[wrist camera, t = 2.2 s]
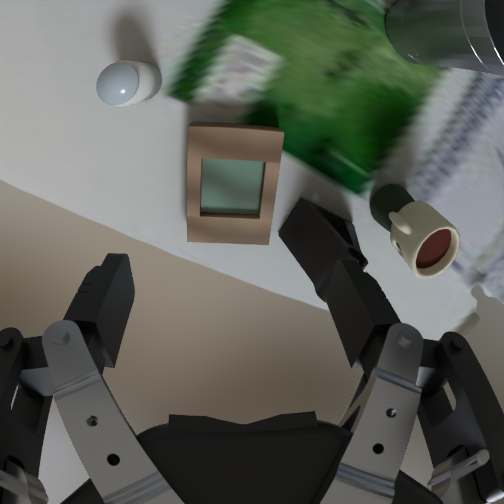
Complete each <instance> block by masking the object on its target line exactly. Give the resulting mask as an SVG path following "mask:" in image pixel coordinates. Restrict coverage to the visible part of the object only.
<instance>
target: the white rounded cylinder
mask: <svg viewBox="0 0 504 504" xmlns="http://www.w3.org/2000/svg"><path fill="white" fill-rule="evenodd" d="M161 84H162V75H161V73H160V71H159V69H158V68H157V67H155V66H154V65H152V64H148V63H143V62H137V61H130V60H122V61H118V62H116V63H114V64H111V65H109V66H108V67H106V68H105V69H104V70H103V71H102V72H101V74H100V75H99V77H98V80H97V85H96V89H97V93H98V96H99V98H100V99H101V100H102V101H103V102H104V103H106V104H109V105H113V106H116V107H124V106H128V105H131V104H134V103H138V102H141V101H145V100H148V99H150V98H152V97H153V96H155V95H156V94H157V93H158V91H159V89H160V87H161Z"/></svg>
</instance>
